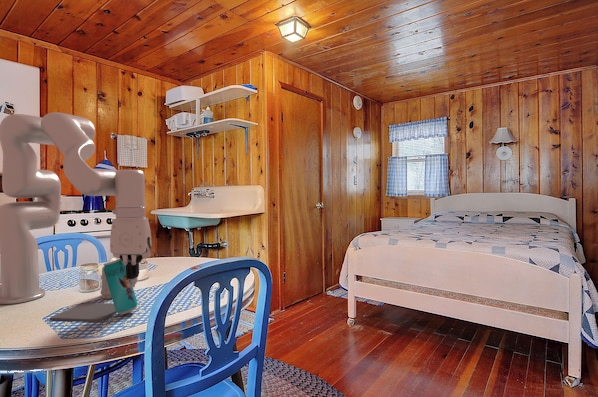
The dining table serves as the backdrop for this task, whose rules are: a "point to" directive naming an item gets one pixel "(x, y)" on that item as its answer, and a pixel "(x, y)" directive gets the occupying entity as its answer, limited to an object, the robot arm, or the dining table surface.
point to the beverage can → (120, 287)
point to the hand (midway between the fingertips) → (132, 277)
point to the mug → (105, 287)
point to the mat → (87, 312)
